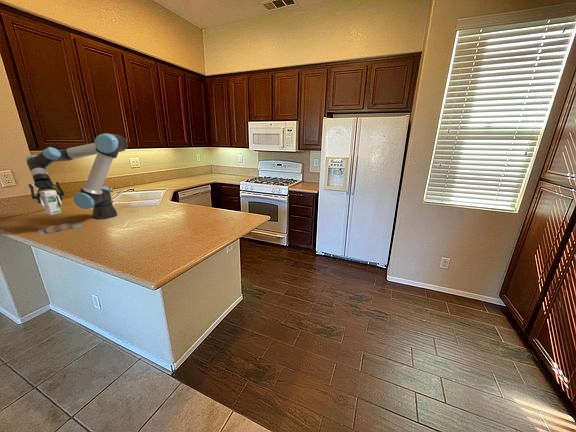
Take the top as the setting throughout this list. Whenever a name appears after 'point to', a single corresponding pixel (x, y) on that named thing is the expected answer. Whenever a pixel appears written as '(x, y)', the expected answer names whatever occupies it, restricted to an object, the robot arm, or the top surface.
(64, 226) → the stand
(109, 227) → the top surface
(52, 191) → the syrup box
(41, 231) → the mat
